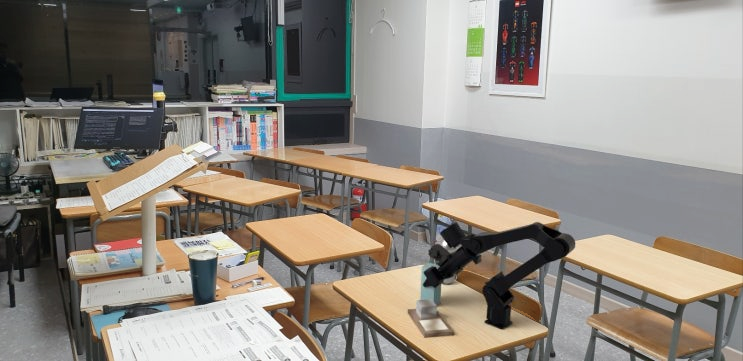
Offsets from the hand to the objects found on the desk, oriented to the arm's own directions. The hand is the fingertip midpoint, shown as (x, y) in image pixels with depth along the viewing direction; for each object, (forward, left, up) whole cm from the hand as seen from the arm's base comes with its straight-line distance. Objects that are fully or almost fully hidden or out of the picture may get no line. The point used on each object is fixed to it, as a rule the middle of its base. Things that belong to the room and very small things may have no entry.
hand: (427, 283), depth 179 cm
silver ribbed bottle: (+7, -19, -7) cm, 21 cm away
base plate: (-11, +12, -7) cm, 18 cm away
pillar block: (-1, 0, -7) cm, 7 cm away
